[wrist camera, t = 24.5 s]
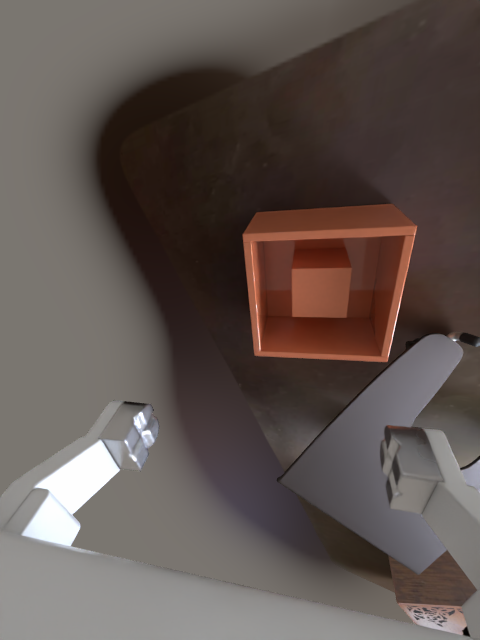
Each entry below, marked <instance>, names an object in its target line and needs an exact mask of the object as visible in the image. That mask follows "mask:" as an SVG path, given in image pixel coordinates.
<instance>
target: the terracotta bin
mask: <svg viewBox="0 0 480 640" xmlns="http://www.w3.org/2000/svg"><path fill="white" fill-rule="evenodd" d="M416 229H417V225H415V224H414V223H413V222H412V221H411V220H410V219H409V218H408V217H407V216H406V215H405V214H403V213H402V212H401V211H400V210H399V209H398V208H397V207H396V206H395V205H394V204H378V205H363V206H347V207H331V208H315V209H299V210H284V211H268V212H256V214H255V215H254V217H253V218H252V220H251V222H250V223H249V225H248V226H247V228H246V229H245V231H244V233H243V246H244V256H245V266H246V276H247V286H248V296H249V306H250V316H251V326H252V336H253V346H254V355H255V356H269V357H290V358H311V359H332V360H352V361H373V362H387V361H388V356H389V352H390V348H391V343H392V339H393V334H394V329H395V325H396V320H397V316H398V311H399V307H400V302H401V297H402V293H403V288H404V284H405V279H406V275H407V270H408V266H409V261H410V256H411V252H412V247H413V243H414V238H415V233H416ZM324 248H346V250H347V253H348V257H349V260H350V263H351V267H352V272H351V282H350V291H349V300H348V309H347V317H346V318H330V317H292V262H293V255H294V250H295V249H324Z"/></svg>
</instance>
